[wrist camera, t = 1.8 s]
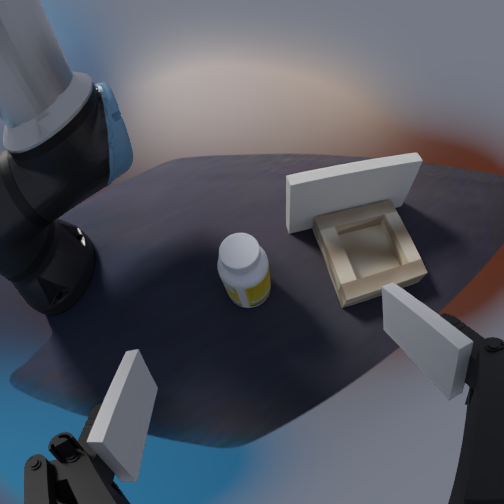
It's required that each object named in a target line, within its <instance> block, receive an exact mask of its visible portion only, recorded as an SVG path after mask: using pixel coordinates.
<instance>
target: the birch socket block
mask: <svg viewBox="0 0 504 504" xmlns="http://www.w3.org/2000/svg"><path fill="white" fill-rule="evenodd" d="M313 232H314V234H315V237H316V240H317V242H318V245H319V247H320V250H321V252H322V255H323V258H324V260H325V263H326V265H327V268H328V271H329V273H330V276H331V279H332V282H333V284H334V287H335V290H336V292H337V295H338V298H339V301H340V304H341V307H342V308H344V307H347V306H351V305H354V304H357V303H360V302H363V301H366V300H369V299H372V298H375V297H378V296H381V295H382V287H381V286H384V285H387V284H390V283H393V282H394V283H395V284H397V285H398V286H399V287H401V288H404V287H406V286H409V285H412V284H415V283H417V282H419V281H420V280H421V279H422V278H423V277H424V276H425V275H426V274H427V273H428V272H427V270H426V268H425V266H424V264H423V262H422V259H421V257H420V255H419V253H418V251H417V249H416V247H415V245H414V243H413V241H412V239H411V237H410V235H409V233H408V231H407V229H406V227H405V226H404V224H403V222H402V220H401V218H400V216H399V214H398V213H397V211H396V209H395V207H394V205H393V204H392V202H391V200H387V201H383V202H379V203H374V204H370V205H365V206H361V207H357V208H353V209H348V210H344V211H340V212H336V213H331V214H327V215H323V216H319V217H315V218H314V225H313Z"/></svg>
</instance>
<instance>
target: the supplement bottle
mask: <svg viewBox="0 0 504 504" xmlns="http://www.w3.org/2000/svg"><path fill="white" fill-rule="evenodd" d="M217 268H218V273H219V276H220V278H221V280H222V282H223V284H224V286H225V289H226V291H227V293H228V295H229V297H230V298H231V300H232V301H233V302H234V303H235V304H237V305H238V306H241V307H245V308H252V307H256V306H258V305H260V304H262V303H263V302H264V301H265V300H266V299H267V297H268V296H269V293H270V290H271V281H270V272H269V263H268V258H267V255H266V253H265V251H264V250H263V249H262V248H261V247H260V246H259V244H258V242H257V240H256V239H255V238H254V237H253V236H251V235H249V234H246V233H235V234H232V235H230V236H228V237H227V238H225V239H224V240H223V242H222V243H221V245H220V247H219V258H218V263H217Z"/></svg>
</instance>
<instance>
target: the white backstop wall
mask: <svg viewBox="0 0 504 504" xmlns="http://www.w3.org/2000/svg"><path fill="white" fill-rule="evenodd" d="M421 164H422V159H421V157H420V156H419V155H418V153H410V154H402V155H396V156H390V157H383V158H376V159H370V160H364V161H359V162H353V163H347V164H342V165H336V166H331V167H326V168H321V169H316V170H311V171H306V172H301V173H296V174H291V175H287V176H286V226H287V229H288V232H289V234H291V233H295V232H299V231H303V230H307V229H311V228H313V225H314V218H315V217H319V216H323V215H327V214H331V213H336V212H340V211H344V210H348V209H353V208H357V207H361V206H365V205H370V204H374V203H379V202H383V201H387V200H391V202H392V204H393V205H394V207H395V208H397V207H401V206H402V204H403V202H404V200H405V198H406V196H407V194H408V192H409V190H410V188H411V186H412V183H413V181H414V179H415V177H416V175H417V172H418V170H419V168H420V166H421Z"/></svg>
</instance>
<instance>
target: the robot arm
mask: <svg viewBox="0 0 504 504" xmlns="http://www.w3.org/2000/svg"><path fill="white" fill-rule="evenodd" d="M120 115H121V113H120V111H119V108H118V104H117V102H116V99H115V97H114V95H113V92H112V90H111V89H110V87H109V85H108V84H107V83H105V82H102V83H97V84H95V85H94V83H93V81H92V79H91V77H90V76H89V75H87V74H84V73H78V72H72V71H71V69H70V67H69V65H68V63H67V61H66V59H65V57H64V54H63V52H62V50H61V48H60V46H59V44H58V41H57V39H56V37H55V35H54V32H53V30H52V28H51V26H50V23H49V21H48V19H47V16H46V14H45V12H44V9H43V7H42V4H41V2H40V0H0V118H1V120H2V121H3V122H4V124H5V129H4V135H3V145H4V147H5V149H4V150H3V151H2V152H0V275H2V276H3V277H5V278H6V279H8V280H9V281H11V283H12V284H13V286H14V287H15V288H16V290H17V291H18V292H19V294H20V295H21V296H22V298H23V299H24V300H25V302H26V303H27V304H28V305H29V306H30V307H32V308H33V309H35V310H37V311H38V312H41V313H42V314H46V315H55V314H59V313H61V312H63V311H65V310H67V309H68V308H70V307H71V306H72V305H73V304H74V303H75V302H76V301H77V300H78V299H79V298H80V297H81V295H82V294H83V292H84V291H85V289H86V287H87V285H88V283H89V281H90V279H91V276H92V272H93V268H94V259H95V256H94V248H93V245H92V243H91V241H90V239H89V238H88V236H87V235H86V234H85V233H84V232H83V231H82V230H81V229H80V228H78V227H77V226H75V225H73V224H71V223H68V222H66V221H63V220H61V219H59V217H60V216H62V215H63V214H64V213H66V212H67V211H69V210H70V209H72V208H73V207H75V206H76V205H78V204H79V203H81V202H82V201H84V200H85V199H87V198H88V197H90V196H91V195H93V194H94V193H96V192H98V191H99V190H101V189H103V188H104V187H106V186H108V185H110V184H111V182H112V181H114V180H115V179H116V178H118V177H119V176H121V175H122V174H124V173H125V172H126V171H127V170H128V169H129V168H130V166H131V165H132V162H133V152H132V147H131V143H130V139H129V136H128V133H127V130H126V127H125V124H124V121H123V119H122V117H121V116H120ZM381 287H382V303H383V325H384V331H385V332H386V333H387V334H388V335H389V336H390V337H391V338H392V339H393V340H394V341H395V342H396V343H397V344H398V345H399V346H400V347H401V348H402V350H403V351H404V352H405V353H406V354H407V355H408V356H409V357H410V358H411V359H412V360H413V361H414V362H415V363H416V365H418V367H419V368H420V369H421V370H422V371H423V372H424V373H425V374H426V375H427V376H428V378H429V379H430V380H431V381H432V382H433V383H434V384H435V385H436V386H437V387H438V388H439V390H440V391H441V392H442V393H443V394H444V395H445V396H446V398H447V399H448V400H450V399H452V398H454V397H455V396H457V395H459V394H461V393H462V392H463V388H464V384H465V383H466V384H468V386H469V387H470V388H469V392H468V396H467V399H466V403H465V404H466V405H467V413H466V421H465V429H464V436H463V442H462V448H461V453H460V458H459V463H458V468H457V473H456V477H455V481H454V485H453V489H452V492H451V496H450V500H449V503H448V504H504V342H503V340H501V339H499V338H493V337H492V338H486V339H484V338H483V337H482V336H480V335H479V334H478V333H476V332H475V331H474V330H472V329H471V328H470V327H468V326H466V325H465V324H464V323H463V322H461V321H460V320H458V319H457V318H456V317H454V316H451V315H448V314H445V313H444V314H442V315H440V316H439V315H438V314H437V313H435V312H434V311H433V310H431V309H430V308H429V307H427V306H426V305H424V304H423V303H422V302H420V301H419V300H418V299H416V298H415V297H413V296H412V295H411V294H409V293H408V292H406V291H405V290H404V289H402V288H401V287H399V286H398V285H397V284H395V283H394V282H393V283H390V284H387V285H384V286H381ZM157 390H158V387H157V385H156V383H155V381H154V380H153V378H152V376H151V374H150V372H149V370H148V368H147V366H146V364H145V362H144V359H143V357H142V355H141V353H140V351H139V349H136V350H131V351H126V353H125V355H124V357H123V359H122V361H121V363H120V365H119V368H118V370H117V372H116V374H115V376H114V379H113V381H112V383H111V385H110V387H109V390H108V392H107V394H106V396H105V399H104V401H103V403H102V404H97V405H96V406H95V407H94V408H93V409H92V410H91V412H90V414H89V417H88V420H87V421H86V423H85V426H84V428H83V431H82V433H81V435H80V437H79V440H78V442H77V441H76V439H75V438H74V437H73V435H72V434H70V433H67V432H65V433H60V434H58V435H56V436H55V437H54V438H52V440H51V441H50V443H49V447H48V448H49V451H50V452H51V453H52V454H53V455H54V457H55V458H56V459H57V460H53V461H48V460H47V459H46V458H45V457H44V456H43V455H40V454H37V455H34V456H32V457H30V458H29V459H28V460H27V462H26V463H25V467H24V504H130V503H129V501H128V500H127V499H126V497H125V496H124V495H123V493H122V492H121V490H120V489H119V487H118V486H117V484H115V482H114V481H113V479H114V475H116V476H117V477H118V478H119V479H120V480H121V481H122V482H123V481H124V482H137V480H138V474H139V470H140V464H141V459H142V455H143V450H144V446H145V441H146V437H147V432H148V428H149V423H150V419H151V415H152V411H153V406H154V402H155V398H156V394H157Z"/></svg>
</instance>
